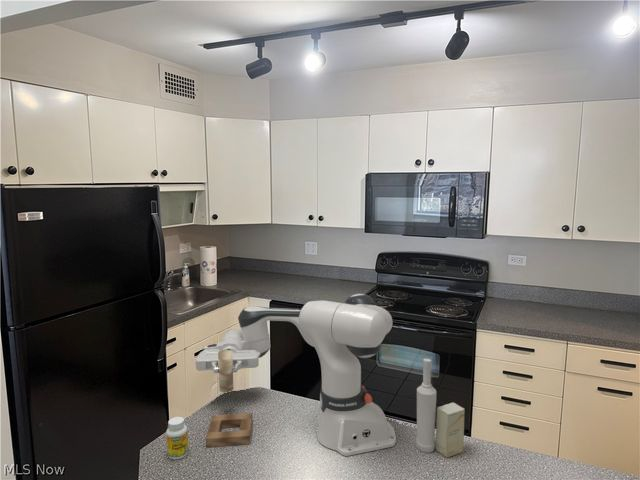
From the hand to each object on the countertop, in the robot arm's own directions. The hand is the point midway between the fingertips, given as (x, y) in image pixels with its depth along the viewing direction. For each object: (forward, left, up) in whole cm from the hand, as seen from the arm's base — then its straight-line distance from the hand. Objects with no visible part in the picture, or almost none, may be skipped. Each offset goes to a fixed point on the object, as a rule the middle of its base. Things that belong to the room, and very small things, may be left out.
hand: (225, 370), depth 131 cm
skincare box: (-62, +26, -15) cm, 69 cm away
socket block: (-2, +11, -14) cm, 18 cm away
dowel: (0, -1, -7) cm, 7 cm away
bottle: (-56, +24, -15) cm, 63 cm away
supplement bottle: (+11, +19, -15) cm, 26 cm away
